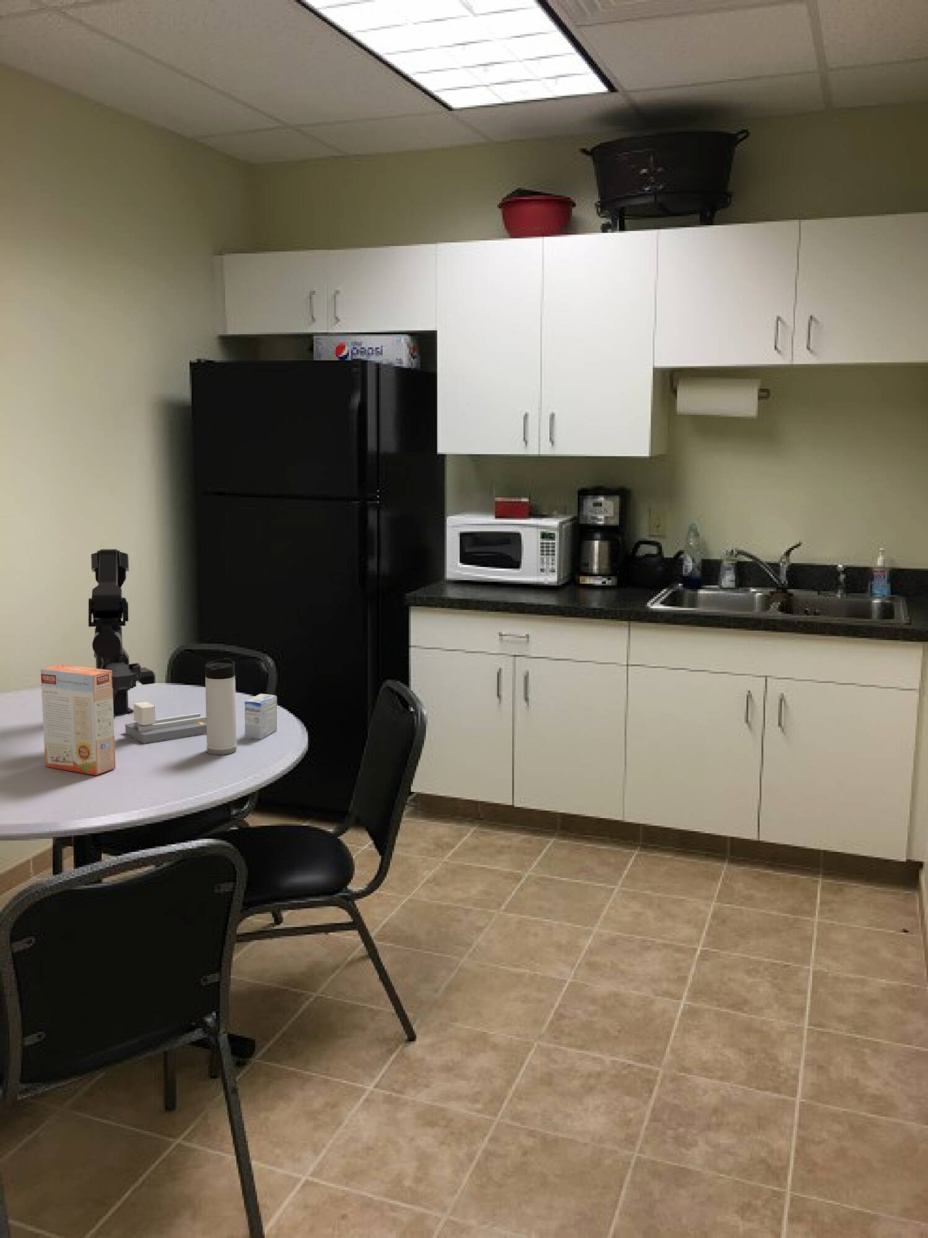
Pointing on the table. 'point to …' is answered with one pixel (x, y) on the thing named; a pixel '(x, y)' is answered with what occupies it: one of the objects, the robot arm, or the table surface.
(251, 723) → the medicine box
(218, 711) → the travel mug
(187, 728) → the console
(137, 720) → the fader
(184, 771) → the table surface
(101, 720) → the cracker box
